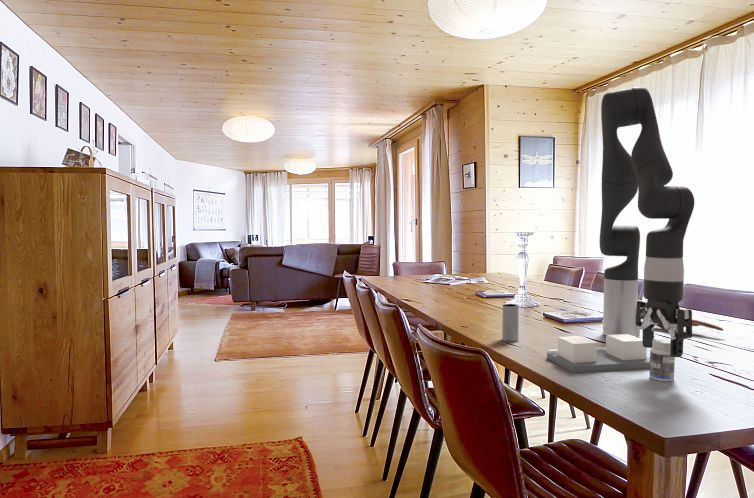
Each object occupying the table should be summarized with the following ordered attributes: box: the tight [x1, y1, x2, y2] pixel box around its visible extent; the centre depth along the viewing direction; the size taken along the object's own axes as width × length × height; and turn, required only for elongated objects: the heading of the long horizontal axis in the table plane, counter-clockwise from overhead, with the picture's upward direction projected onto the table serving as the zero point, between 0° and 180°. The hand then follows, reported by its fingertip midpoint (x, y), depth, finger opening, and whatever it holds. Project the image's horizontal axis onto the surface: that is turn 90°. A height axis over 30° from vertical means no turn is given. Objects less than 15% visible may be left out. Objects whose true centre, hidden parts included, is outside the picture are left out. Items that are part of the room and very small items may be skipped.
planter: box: [501, 303, 520, 343], centre depth 144 cm, size 4×4×10 cm
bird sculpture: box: [641, 316, 724, 332], centre depth 155 cm, size 7×25×5 cm, turn 41°
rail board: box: [546, 334, 650, 373], centre depth 120 cm, size 22×12×6 cm, turn 99°
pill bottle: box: [649, 338, 676, 382], centre depth 108 cm, size 5×5×8 cm
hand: (661, 351), depth 108 cm, fingers open, 8 cm apart
